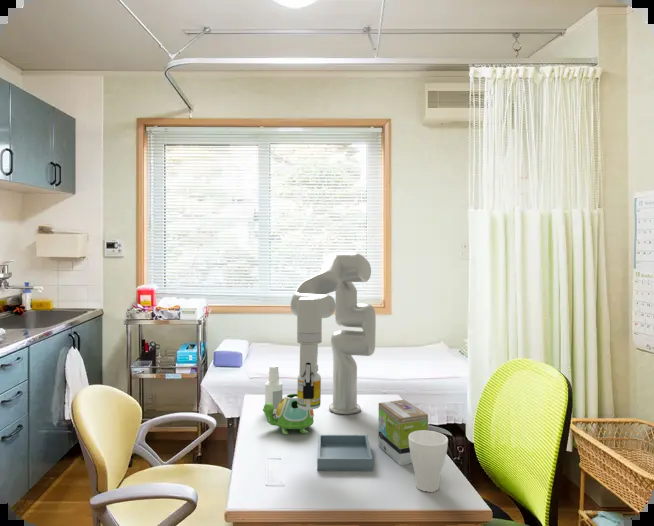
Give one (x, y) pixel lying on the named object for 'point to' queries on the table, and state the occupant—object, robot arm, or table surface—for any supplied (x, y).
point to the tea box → (399, 428)
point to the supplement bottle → (315, 402)
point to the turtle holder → (289, 415)
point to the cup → (427, 458)
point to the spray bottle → (273, 388)
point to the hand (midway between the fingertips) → (309, 394)
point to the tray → (344, 453)
